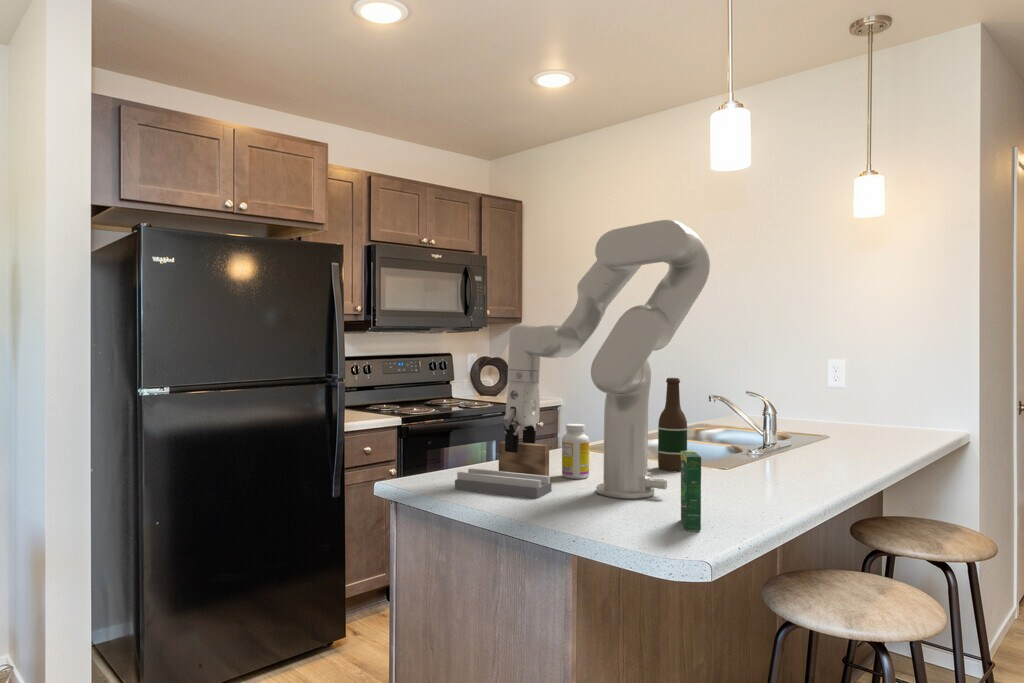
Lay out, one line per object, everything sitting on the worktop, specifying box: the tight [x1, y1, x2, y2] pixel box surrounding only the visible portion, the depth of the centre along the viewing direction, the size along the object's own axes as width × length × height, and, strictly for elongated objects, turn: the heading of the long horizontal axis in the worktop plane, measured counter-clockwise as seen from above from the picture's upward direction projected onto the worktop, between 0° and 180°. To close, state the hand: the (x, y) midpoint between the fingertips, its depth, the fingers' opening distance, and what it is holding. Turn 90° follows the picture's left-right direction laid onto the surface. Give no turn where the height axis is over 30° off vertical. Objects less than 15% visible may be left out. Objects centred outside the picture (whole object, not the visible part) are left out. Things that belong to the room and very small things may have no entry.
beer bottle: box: [657, 377, 688, 473], centre depth 177 cm, size 8×8×24 cm
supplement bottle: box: [561, 423, 590, 480], centre depth 165 cm, size 7×7×13 cm
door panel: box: [498, 440, 550, 476], centre depth 159 cm, size 12×2×9 cm, turn 64°
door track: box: [454, 467, 553, 499], centre depth 149 cm, size 20×8×4 cm, turn 64°
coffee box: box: [680, 450, 702, 532], centre depth 122 cm, size 8×3×13 cm, turn 172°
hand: (520, 449), depth 160 cm, fingers open, 9 cm apart
